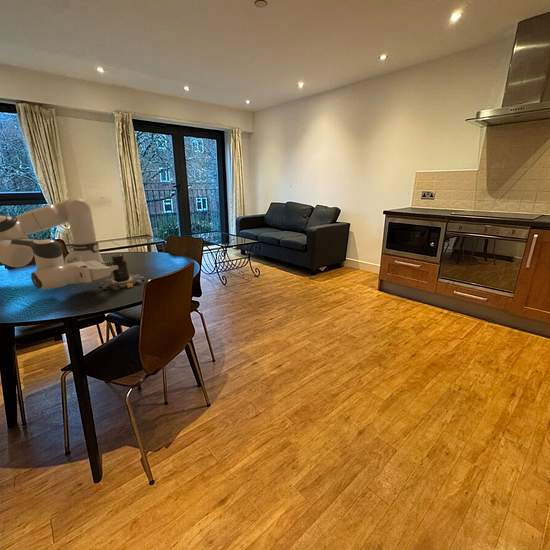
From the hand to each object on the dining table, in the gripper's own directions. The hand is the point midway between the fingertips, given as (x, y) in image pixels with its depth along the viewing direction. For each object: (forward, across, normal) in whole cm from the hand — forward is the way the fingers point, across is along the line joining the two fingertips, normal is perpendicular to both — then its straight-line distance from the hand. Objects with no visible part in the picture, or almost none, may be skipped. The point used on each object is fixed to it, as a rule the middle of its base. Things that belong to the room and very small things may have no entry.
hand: (113, 265), depth 138 cm
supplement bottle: (+2, 0, -8) cm, 9 cm away
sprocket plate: (+3, 0, -10) cm, 10 cm away
